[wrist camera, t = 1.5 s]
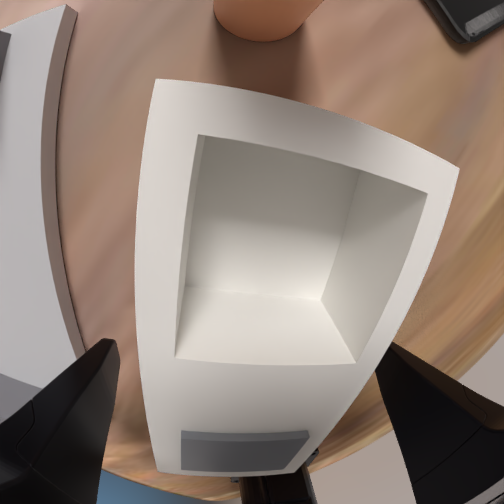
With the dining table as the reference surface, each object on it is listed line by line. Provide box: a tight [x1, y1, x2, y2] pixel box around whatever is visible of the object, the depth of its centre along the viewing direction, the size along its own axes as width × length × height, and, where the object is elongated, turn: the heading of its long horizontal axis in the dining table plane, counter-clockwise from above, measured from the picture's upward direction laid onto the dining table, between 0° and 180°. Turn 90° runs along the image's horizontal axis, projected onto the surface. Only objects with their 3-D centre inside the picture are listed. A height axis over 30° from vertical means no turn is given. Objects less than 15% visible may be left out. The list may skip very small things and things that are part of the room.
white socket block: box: [135, 79, 460, 477], centre depth 9 cm, size 13×6×5 cm, turn 169°
